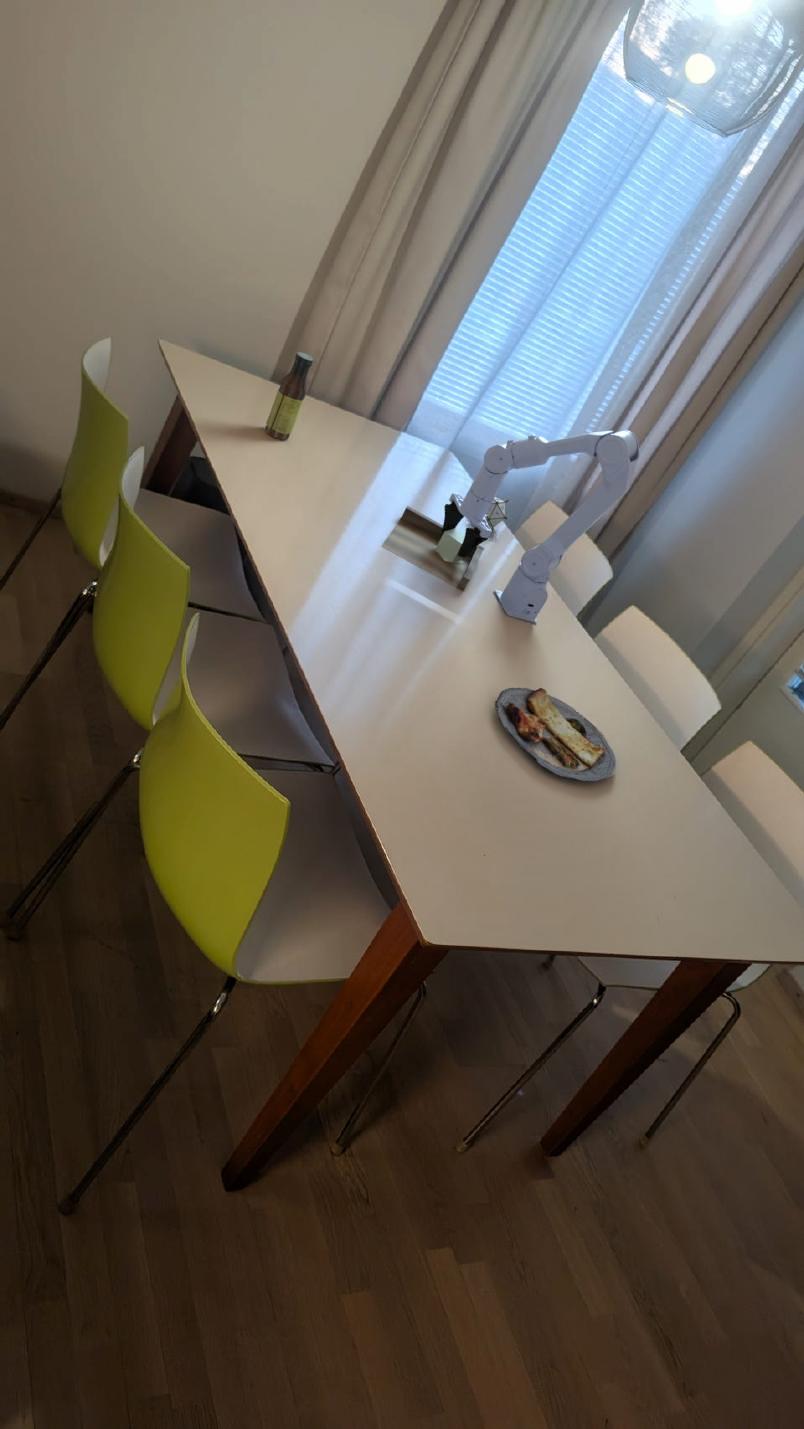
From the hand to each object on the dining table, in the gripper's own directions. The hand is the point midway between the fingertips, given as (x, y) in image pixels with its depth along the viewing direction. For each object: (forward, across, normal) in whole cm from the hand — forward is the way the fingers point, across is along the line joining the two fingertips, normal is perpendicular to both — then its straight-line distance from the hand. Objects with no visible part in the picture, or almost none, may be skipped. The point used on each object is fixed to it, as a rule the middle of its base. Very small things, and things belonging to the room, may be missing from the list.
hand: (453, 546), depth 234 cm
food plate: (+4, -59, +12) cm, 60 cm away
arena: (+3, 0, +5) cm, 6 cm away
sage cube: (+2, 0, 0) cm, 2 cm away
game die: (+4, +19, -25) cm, 32 cm away
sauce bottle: (+4, +46, +24) cm, 52 cm away
